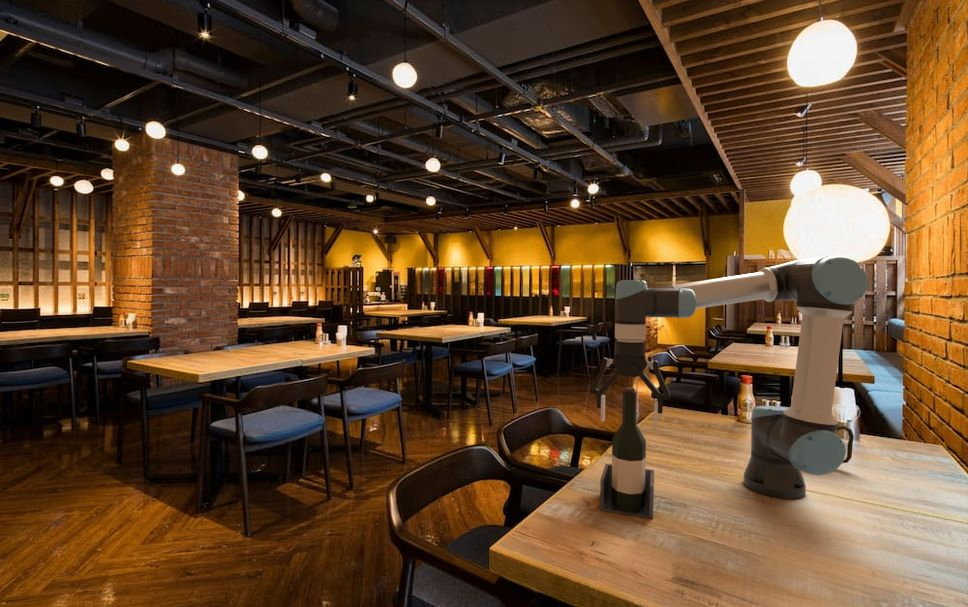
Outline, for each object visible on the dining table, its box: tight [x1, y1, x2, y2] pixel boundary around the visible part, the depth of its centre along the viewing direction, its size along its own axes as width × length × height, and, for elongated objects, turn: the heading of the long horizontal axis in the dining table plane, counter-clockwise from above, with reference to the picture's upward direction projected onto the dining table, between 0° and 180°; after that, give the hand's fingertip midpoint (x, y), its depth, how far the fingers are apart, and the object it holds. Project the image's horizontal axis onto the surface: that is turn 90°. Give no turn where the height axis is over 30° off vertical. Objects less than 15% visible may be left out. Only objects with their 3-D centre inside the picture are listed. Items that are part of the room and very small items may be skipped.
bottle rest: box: [599, 463, 655, 520], centre depth 125 cm, size 13×12×8 cm
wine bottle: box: [611, 386, 647, 511], centre depth 124 cm, size 8×8×30 cm
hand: (628, 423), depth 124 cm, fingers open, 12 cm apart
